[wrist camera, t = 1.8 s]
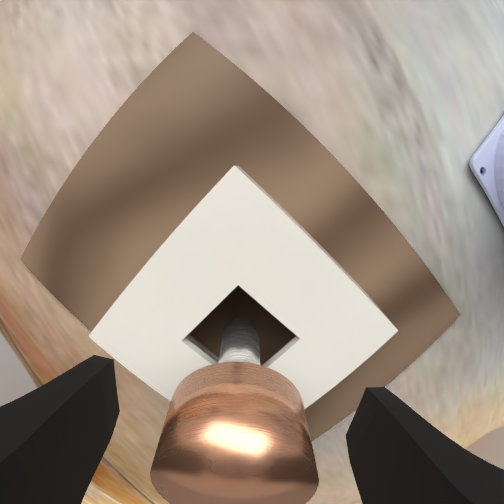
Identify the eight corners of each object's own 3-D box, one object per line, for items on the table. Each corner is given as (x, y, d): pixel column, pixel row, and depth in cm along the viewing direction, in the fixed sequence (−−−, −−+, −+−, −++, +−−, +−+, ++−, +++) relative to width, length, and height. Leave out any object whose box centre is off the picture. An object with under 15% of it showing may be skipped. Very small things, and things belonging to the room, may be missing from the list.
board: (456, 311, 17) (460, 314, 17) (278, 457, 20) (279, 461, 20) (194, 34, 13) (192, 32, 13) (24, 257, 16) (20, 259, 16)
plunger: (305, 329, 13) (351, 480, 6) (243, 382, 13) (240, 532, 6) (238, 271, 12) (225, 410, 5) (177, 332, 13) (121, 478, 5)
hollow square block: (364, 290, 16) (398, 330, 12) (246, 392, 18) (246, 448, 14) (238, 166, 15) (234, 165, 10) (124, 295, 16) (88, 336, 12)
